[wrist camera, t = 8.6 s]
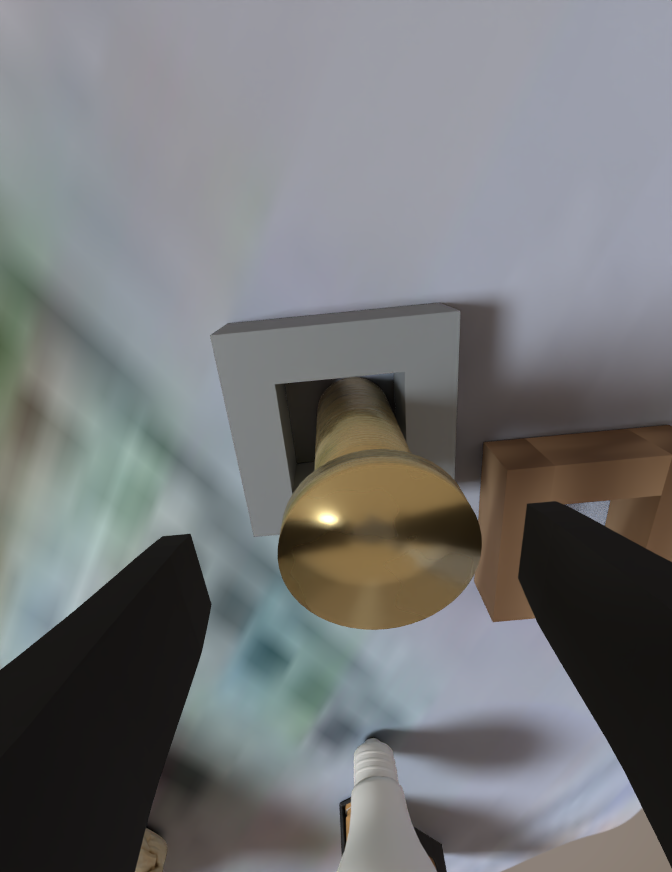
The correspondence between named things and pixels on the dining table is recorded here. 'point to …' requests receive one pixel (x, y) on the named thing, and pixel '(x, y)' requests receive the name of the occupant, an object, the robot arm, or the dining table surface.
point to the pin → (374, 521)
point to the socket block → (328, 359)
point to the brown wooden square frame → (569, 498)
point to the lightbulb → (380, 818)
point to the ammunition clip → (427, 842)
